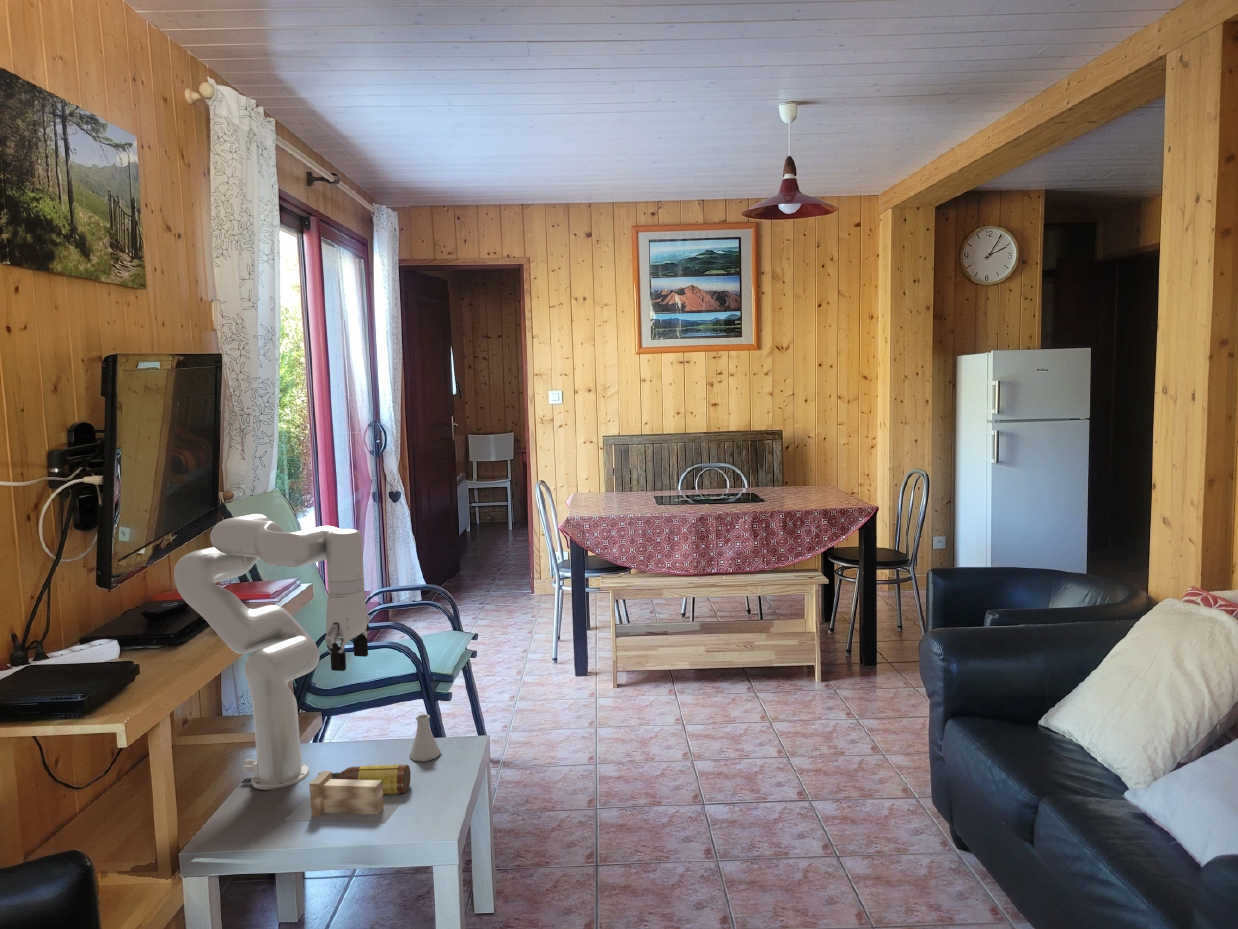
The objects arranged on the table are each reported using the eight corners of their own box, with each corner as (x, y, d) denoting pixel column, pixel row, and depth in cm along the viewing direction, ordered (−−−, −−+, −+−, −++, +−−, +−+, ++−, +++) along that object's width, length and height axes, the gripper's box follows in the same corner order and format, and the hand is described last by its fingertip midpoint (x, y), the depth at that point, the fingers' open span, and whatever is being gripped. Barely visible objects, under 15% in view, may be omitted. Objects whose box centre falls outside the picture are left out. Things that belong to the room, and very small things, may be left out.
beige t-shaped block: (311, 816, 183) (309, 783, 182) (325, 802, 189) (322, 771, 188) (374, 818, 181) (372, 785, 180) (386, 804, 187) (384, 772, 186)
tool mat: (284, 823, 182) (284, 820, 182) (307, 800, 192) (307, 797, 191) (384, 826, 179) (384, 823, 178) (403, 803, 188) (403, 800, 188)
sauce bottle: (413, 778, 197) (327, 779, 198) (409, 758, 194) (321, 759, 195) (406, 801, 192) (317, 802, 192) (402, 781, 189) (311, 782, 189)
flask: (424, 765, 208) (421, 724, 207) (403, 758, 212) (401, 718, 211) (446, 753, 213) (444, 714, 213) (426, 747, 218) (423, 709, 217)
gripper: (350, 577, 198) (354, 650, 200) (308, 595, 182) (313, 675, 183) (380, 577, 197) (384, 651, 199) (341, 596, 180) (346, 677, 182)
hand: (350, 663), depth 191 cm, fingers open, 9 cm apart
